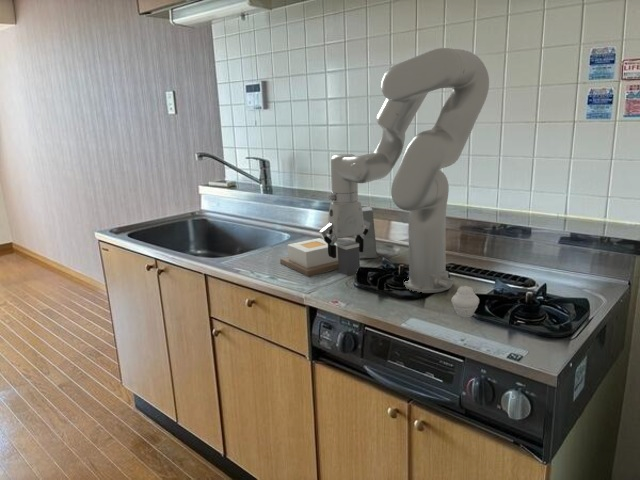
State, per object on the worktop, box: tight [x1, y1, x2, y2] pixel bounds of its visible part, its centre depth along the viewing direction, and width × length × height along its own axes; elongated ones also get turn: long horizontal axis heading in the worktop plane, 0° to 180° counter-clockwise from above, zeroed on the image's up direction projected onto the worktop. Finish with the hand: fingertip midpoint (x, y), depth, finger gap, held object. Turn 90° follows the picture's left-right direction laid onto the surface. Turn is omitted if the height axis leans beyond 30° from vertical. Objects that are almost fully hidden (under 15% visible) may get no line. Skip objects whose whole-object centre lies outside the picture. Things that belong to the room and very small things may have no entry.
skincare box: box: [354, 206, 378, 260], centre depth 166 cm, size 8×7×16 cm
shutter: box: [302, 242, 324, 248], centre depth 161 cm, size 6×6×1 cm
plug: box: [336, 239, 361, 276], centre depth 151 cm, size 5×5×9 cm
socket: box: [279, 237, 339, 277], centre depth 161 cm, size 18×15×6 cm
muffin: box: [450, 285, 480, 318], centre depth 116 cm, size 6×6×7 cm
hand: (346, 254), depth 152 cm, fingers open, 9 cm apart
